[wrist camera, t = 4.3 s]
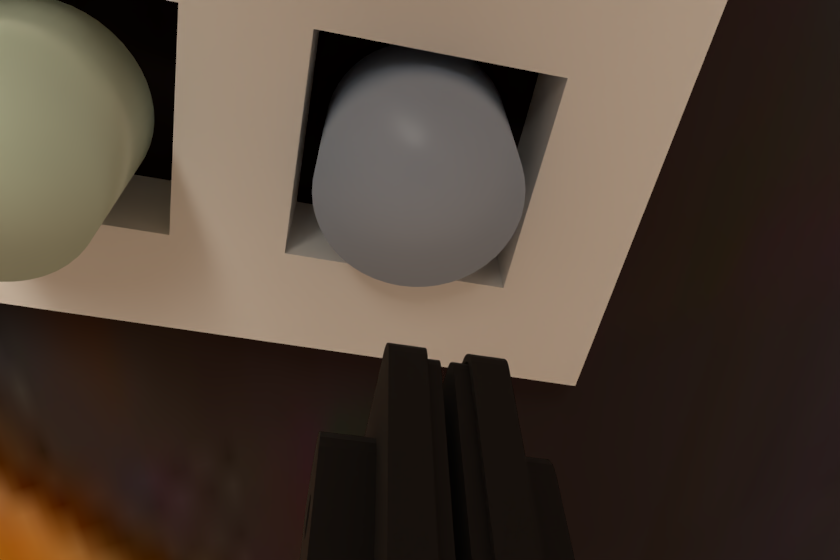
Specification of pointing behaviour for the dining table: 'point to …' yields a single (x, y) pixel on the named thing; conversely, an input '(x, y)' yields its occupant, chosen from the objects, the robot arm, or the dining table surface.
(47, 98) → the button sage
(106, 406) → the dining table surface
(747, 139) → the dining table surface
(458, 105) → the button slate
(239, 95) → the console
